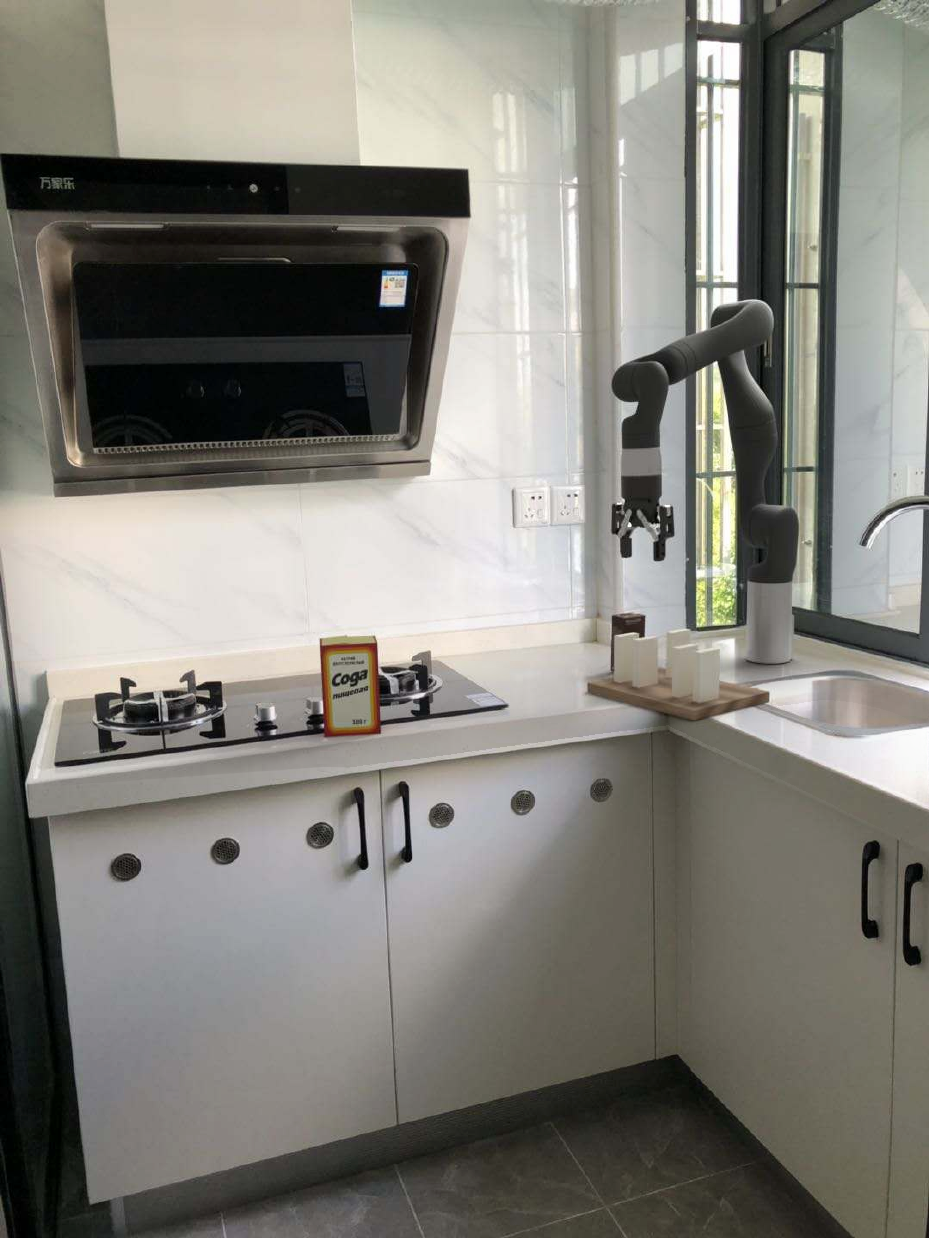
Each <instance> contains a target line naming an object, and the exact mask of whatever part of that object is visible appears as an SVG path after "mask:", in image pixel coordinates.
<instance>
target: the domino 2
mask: <svg viewBox="0 0 929 1238" xmlns="http://www.w3.org/2000/svg"><path fill="white" fill-rule="evenodd" d="M658 652H659V637H658V636H655V635H650V636H645V637H643V638H638V639H633V686H634V687H638V688H640V687H644V686H649V685H653V684H658V668H659V663H658V662H659V653H658Z"/></svg>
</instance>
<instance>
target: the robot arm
mask: <svg viewBox="0 0 929 1238" xmlns="http://www.w3.org/2000/svg"><path fill="white" fill-rule="evenodd" d="M773 314H774V313H773V311H772V309H771V307H770V305H768V304H767V303H766V302H765V301H763V300H759V299H746V300H745V299H744V300H740V301H735V302H734V301H733V302H732V301H731V302H727V303H722V304H720V305H718V306H716V307H715V309H714V310H713V311H712V314H711V316H710V322H709V323H710V324H709V328H707V329H705V330H702V331H699V332H695V333H693V334H689V335H686V336H684V337H681V338H679V339H677V340H675V341H673V342H671V343H670V344H667V345H666V346H664V347H662V348H661V349H659V350H657V351H656V352H653V353H650V354H647V355H643V356H641V357H638V358H635V359H633V360H630V361H627V362H626V363H624V364H622V365H620V367H618V368H617V370H616V371H614V373H613V376H612V379H611V390H612V392H613V394H614V396H615V397H616V398H617V399H618V400H619V401H621V402H624V403H637V406H636V409H635V412H634V413H633V414H632V415H630V416H627V417H625V418H623V420H622V422H621V433H620V434H621V454H620V455H621V456H620V497H621V498H622V499H623V500H624V502H616V503H612V504H611V525H610V526H611V529H610V530H611V531H610V532H611V535H616V536H617V537H618V538H619V548H620V549H619V552H620V556H621V558H623V559H627V558H632V556H633V538H632V537H631V536H632V535H633V534H634V531H635V530H636V529H637V528H642V529H645V531H647V533H649V534H650V535H651V537H652V539H653V542H652V552H653V553H652V554H653V555H652V556H653V557H652V558H653V561H654V562H663V561H664V560H665V558H666V556H667V554H666V551H667V550H666V548H667V547H666V545H667V544H666V542H667V540H669V539H671V538H674V537H675V518H674V516H675V515H674V506H673V505H672V504H665V505H660V498H661V497H662V496H663V482H662V481H663V480H662V479H663V478H662V477H663V473H662V472H663V470H662V466H663V464H662V454H661V431H660V430H661V429H660V426H661V422H662V418H663V415H664V410H665V406H666V403H667V397H668V393H669V387H670V386H672V385H676V384H678V383H680V382H681V381H683V380H685V379H687V378H689V377H691V376H692V375H694V374H696V373H698V372H699V371H700V370H702V369H704V368H706V367H708V366H710V365H712V364H713V363H716V362H717V366H718V371H719V376H720V379H721V383H722V389H723V394H724V395H723V396H724V400H725V406H726V412H727V421H728V423H727V424H728V429H729V436H730V442H731V447H732V452H733V453H732V454H733V458H734V459H733V460H734V466H735V474H736V476H735V477H736V483H737V498H738V499H737V500H738V501H737V502H738V519H739V520H738V521H739V529H740V534H741V537H742V540H743V541H744V542H745V544H746V545H747V546H749V547H751V548H756V549H767V552H766V556H765V558H764V560H763V561H762V562H760V563H757V564H753V565H751V566H749V568H748V570H747V586H746V587H747V591H746V592H747V598H746V635H745V636H746V638H745V639H746V642H745V643H746V645H745V659H746V661H749V662H752V663H757V664H758V663H759V664H769V665H770V664H771V665H773V664H774V665H775V664H783V663H789V662H790V661H791V659H794V641H795V639H794V638H795V615H794V614H792V613H793V588H794V587H793V582H794V572H795V569H796V566H797V558H798V547H799V546H798V545H799V536H800V535H799V534H800V523H799V517H798V514H797V512H796V510H795V509H794V508H793V507H791V506H788V505H780V504H775V505H774V504H767V502H766V496H765V495H766V494H765V478H766V474H767V471H768V469H769V466H770V465H771V462H772V460H773V458H774V455H775V453H776V450H777V446H778V441H779V440H778V431H777V422H776V421H777V420H776V415H775V410H774V408H773V405H772V404H771V401H770V400H769V399H768V398H767V396H766V394H765V393H764V391H763V390H762V388H761V387H760V386H759V385H758V383H757V382H756V381H755V379H754V377H753V376H752V374H751V372H750V370H749V368H748V364H747V360H746V356H745V350H748V349H752V348H753V349H754V348H756V347H760V346H761V345H763V344H765V343H766V342H767V341H768V340H769V338H770V337H771V335H772V333H773V331H774V322H775V321H774V315H773Z"/></svg>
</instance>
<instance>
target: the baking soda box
mask: <svg viewBox="0 0 929 1238" xmlns="http://www.w3.org/2000/svg"><path fill="white" fill-rule="evenodd" d="M378 649H379V648H378V640H377V638H376V635H360V636H359V635H355V636H348V635H339V636H338V635H336V636H328V637H320V638H319V654H320V655H319V656H320V675H321V677H320V678H321V693H322V695H321V697H322V715H323V716H322V717H323V733H324V734H323V736H324V738H329V737H330V738H334V737H348V736H362V735H377V734H378V735H379V734H382V724H381V702H380V701H381V699H380V696H381V695H380V675H379V674H380V673H379V655H378V654H379V652H378V651H379V650H378Z"/></svg>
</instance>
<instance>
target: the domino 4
mask: <svg viewBox="0 0 929 1238" xmlns="http://www.w3.org/2000/svg"><path fill="white" fill-rule="evenodd" d="M694 651H699V644H696V643H690V644H687V645H682V646H677V647H672V696H674V697H678V698H680V697H684V696H688V695H692V694H693V658H694Z"/></svg>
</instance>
